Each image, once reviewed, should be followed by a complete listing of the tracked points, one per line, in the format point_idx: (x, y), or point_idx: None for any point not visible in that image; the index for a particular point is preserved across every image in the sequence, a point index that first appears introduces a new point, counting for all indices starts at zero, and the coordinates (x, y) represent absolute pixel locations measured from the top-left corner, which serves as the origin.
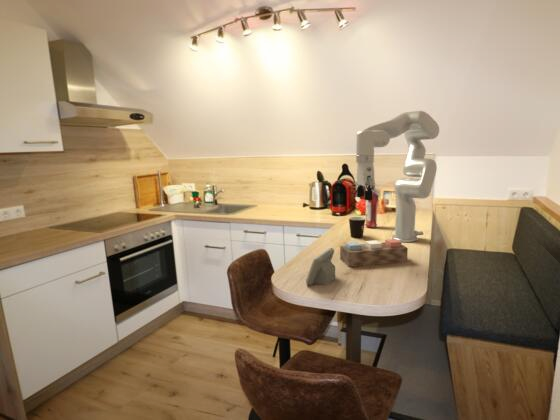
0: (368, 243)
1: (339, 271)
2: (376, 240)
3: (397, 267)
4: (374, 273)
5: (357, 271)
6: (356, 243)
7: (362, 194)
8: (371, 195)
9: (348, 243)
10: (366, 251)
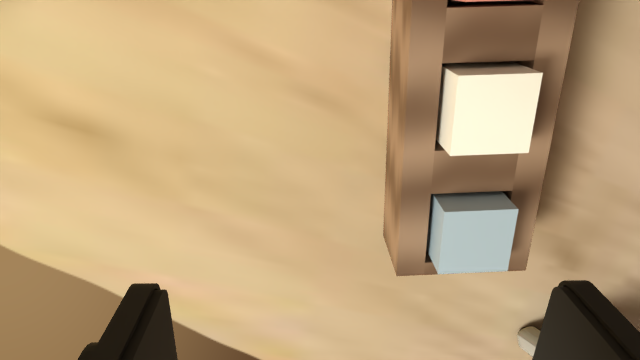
0: (496, 152)
1: (534, 277)
2: (462, 77)
3: (607, 5)
4: (622, 154)
5: (566, 213)
6: (479, 225)
7: (159, 343)
8: (635, 348)
9: (462, 265)
10: (541, 177)
